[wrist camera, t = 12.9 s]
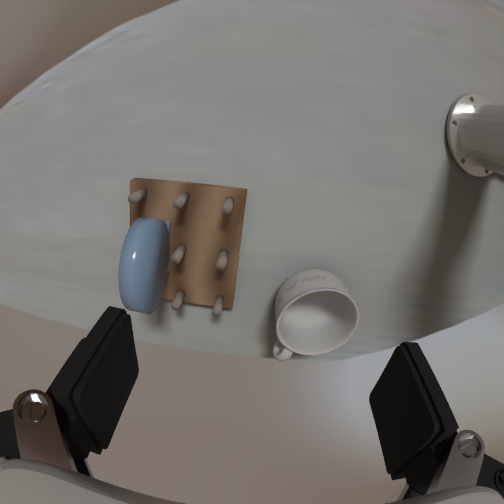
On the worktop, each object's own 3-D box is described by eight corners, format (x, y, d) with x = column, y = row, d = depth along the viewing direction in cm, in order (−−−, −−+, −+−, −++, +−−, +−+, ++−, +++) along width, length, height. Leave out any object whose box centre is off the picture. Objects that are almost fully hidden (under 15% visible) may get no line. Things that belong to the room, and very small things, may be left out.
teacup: (315, 244, 40) (327, 272, 32) (359, 293, 43) (375, 325, 35) (242, 304, 44) (239, 339, 36) (290, 344, 47) (293, 380, 39)
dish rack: (247, 189, 37) (245, 198, 32) (233, 303, 44) (230, 323, 39) (134, 177, 36) (118, 185, 32) (137, 288, 43) (125, 306, 39)
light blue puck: (171, 206, 36) (137, 240, 26) (170, 282, 41) (144, 333, 30) (154, 204, 36) (115, 237, 26) (154, 279, 41) (124, 329, 30)
